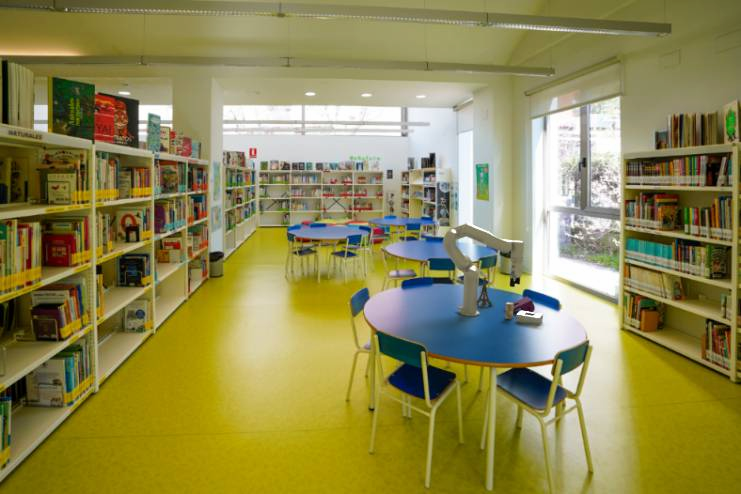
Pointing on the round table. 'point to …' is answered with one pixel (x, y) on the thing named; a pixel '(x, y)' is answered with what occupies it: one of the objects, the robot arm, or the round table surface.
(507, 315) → the wedge pin
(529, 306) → the maroon shoe
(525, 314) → the collar block
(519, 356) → the round table surface
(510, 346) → the round table surface
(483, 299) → the eiffel tower
